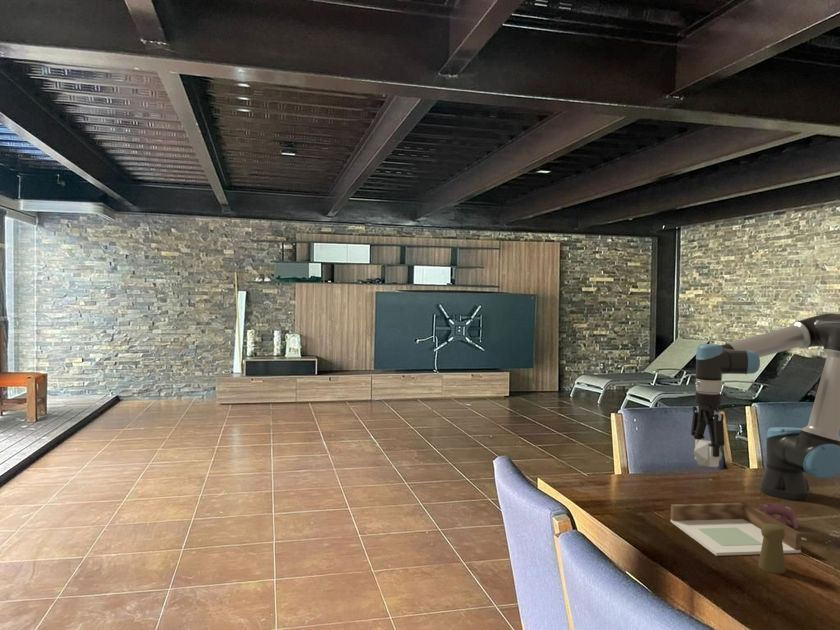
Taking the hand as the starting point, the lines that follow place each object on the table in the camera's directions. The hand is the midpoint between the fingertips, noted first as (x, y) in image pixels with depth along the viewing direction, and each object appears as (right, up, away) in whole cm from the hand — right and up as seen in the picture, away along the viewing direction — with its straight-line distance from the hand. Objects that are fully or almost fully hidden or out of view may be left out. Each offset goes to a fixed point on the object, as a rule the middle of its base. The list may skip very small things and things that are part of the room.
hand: (706, 462), depth 195 cm
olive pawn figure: (-3, -17, -42) cm, 45 cm away
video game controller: (+16, -16, -12) cm, 26 cm away
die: (0, -1, 0) cm, 1 cm away
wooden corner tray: (-3, -16, -22) cm, 27 cm away
